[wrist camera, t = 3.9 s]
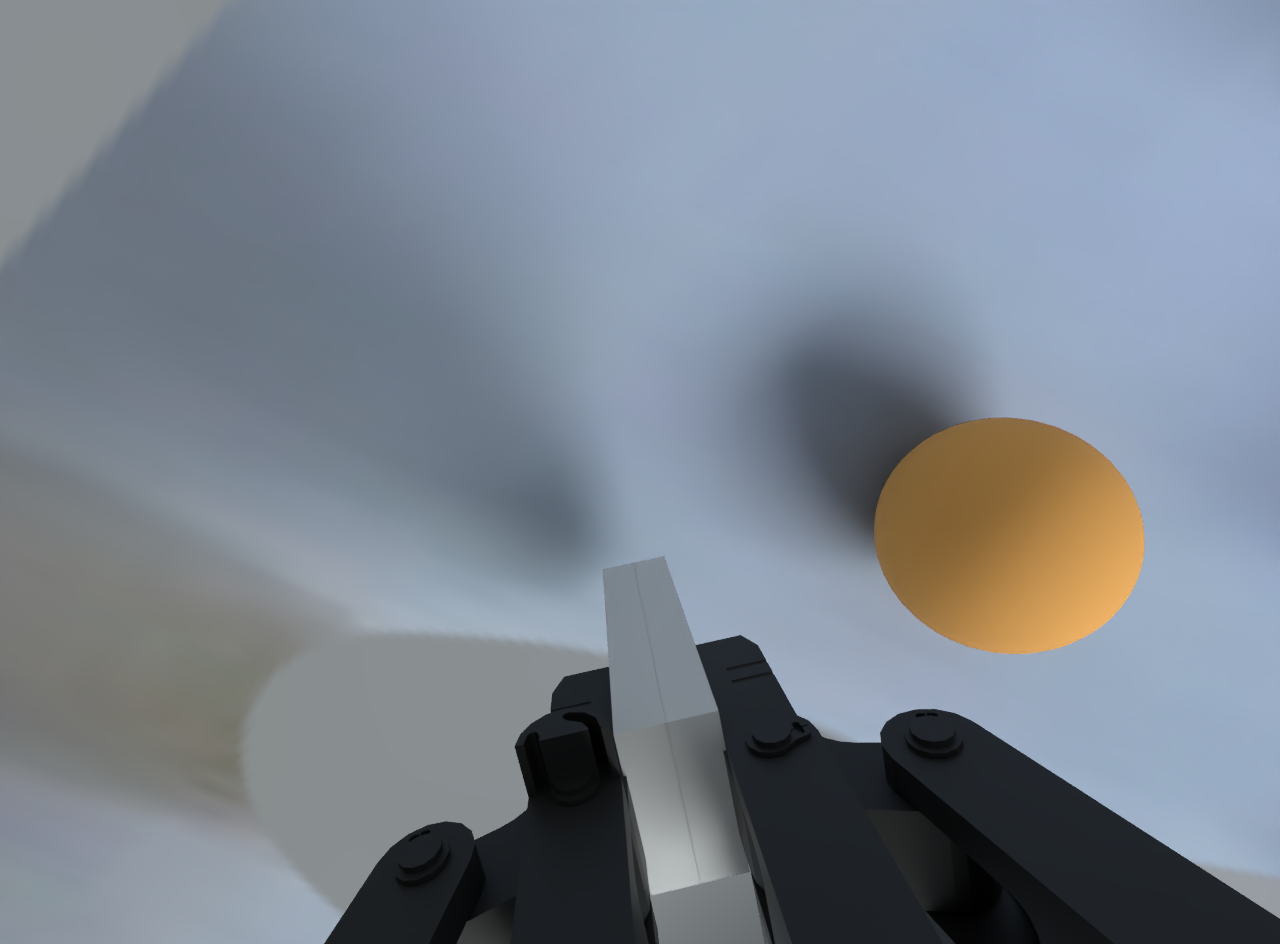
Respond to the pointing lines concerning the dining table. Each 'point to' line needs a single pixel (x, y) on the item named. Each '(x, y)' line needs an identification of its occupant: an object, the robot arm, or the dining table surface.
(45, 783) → the dining table surface
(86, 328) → the dining table surface
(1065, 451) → the ball
